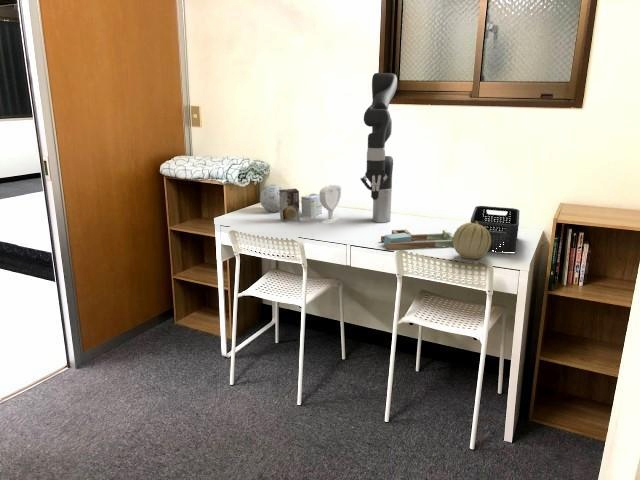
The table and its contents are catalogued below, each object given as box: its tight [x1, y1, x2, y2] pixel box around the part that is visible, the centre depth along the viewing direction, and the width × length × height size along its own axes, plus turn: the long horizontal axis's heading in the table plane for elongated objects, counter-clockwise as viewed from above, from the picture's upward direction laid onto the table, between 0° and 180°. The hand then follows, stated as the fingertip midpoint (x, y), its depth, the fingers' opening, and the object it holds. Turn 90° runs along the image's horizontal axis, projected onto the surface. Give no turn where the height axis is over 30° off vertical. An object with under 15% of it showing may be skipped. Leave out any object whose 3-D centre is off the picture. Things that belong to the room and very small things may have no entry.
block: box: [383, 233, 412, 246], centre depth 222 cm, size 6×10×4 cm, turn 110°
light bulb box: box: [300, 193, 323, 218], centre depth 273 cm, size 11×7×11 cm, turn 144°
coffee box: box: [279, 188, 301, 223], centre depth 261 cm, size 9×6×16 cm
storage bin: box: [470, 205, 520, 253], centre depth 223 cm, size 29×19×13 cm
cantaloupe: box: [452, 221, 491, 260], centre depth 203 cm, size 15×15×15 cm
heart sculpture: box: [319, 184, 342, 224], centre depth 260 cm, size 16×5×18 cm, turn 147°
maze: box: [380, 229, 454, 251], centre depth 227 cm, size 21×30×4 cm
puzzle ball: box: [259, 184, 284, 213], centre depth 280 cm, size 15×15×15 cm
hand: (374, 199), depth 215 cm, fingers closed
